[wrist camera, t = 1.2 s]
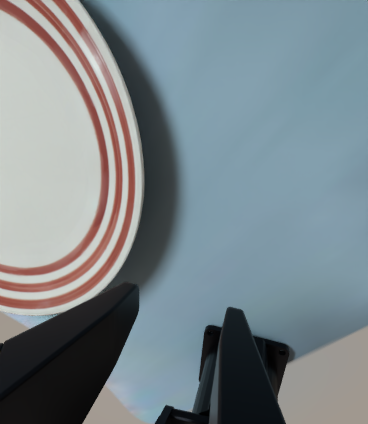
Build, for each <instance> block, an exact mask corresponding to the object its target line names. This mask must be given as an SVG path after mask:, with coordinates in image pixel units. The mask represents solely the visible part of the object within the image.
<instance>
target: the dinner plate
mask: <svg viewBox="0 0 368 424" xmlns="http://www.w3.org/2000/svg"><path fill="white" fill-rule="evenodd" d="M144 184H145V183H144V160H143V153H142V143H141V138H140V132H139V128H138V123H137V119H136V116H135V112H134V108H133V104H132V101H131V97H130V95H129V92H128V89H127V86H126V84H125V81H124V78H123V76H122V74H121V71H120V69H119V67H118V64H117V62H116V60H115V58H114V56H113V54H112V52H111V50H110V48H109V46H108V44H107V42H106V40H105V39H104V37H103V35H102V34H101V32H100V30H99V29H98V27H97V25H96V24H95V22H94V20H93V19H92V18H91V16H90V15H89V13H88V12H87V10H86V9H85V8H84V6H83V5H82V3H81V2H80V0H0V311H3V312H7V313H11V314H17V315H28V316H42V315H52V314H57V313H62V312H65V311H67V310H69V309H71V308H73V307H75V306H77V305H79V304H81V303H83V302H85V301H87V300H89V299H91V298H93V297H95V296H96V295H98V294H99V293H100V292H101V291H102V290H103V289H104V288H105V287H106V286H107V285H108V284H109V283H110V282H111V281H112V280H113V278H114V277H115V276H116V274H117V273H118V272H119V270H120V269H121V267H122V266H123V264H124V262H125V260H126V259H127V257H128V254H129V252H130V250H131V248H132V245H133V243H134V240H135V238H136V234H137V231H138V227H139V223H140V219H141V213H142V206H143V199H144Z"/></svg>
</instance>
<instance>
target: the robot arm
mask: <svg viewBox="0 0 368 424" xmlns="http://www.w3.org/2000/svg"><path fill="white" fill-rule="evenodd" d="M138 312H139V286H138V285H137V284H133V283H129V282H124V283H121V284H119V285H117V286H115V287H113V288H111V289H109V290H107V291H105V292H103V293H101V294H99V295H97V296H95V297H93V298H91V299H89V300H87V301H85V302H83V303H81V304H79V305H77V306H75V307H73V308H71V309H69V310H67V311H65V312H63V313H61V314H59V315H57V316H55V317H53V318H51V319H49V320H47V321H45V322H43V323H41V324H39V325H37V326H35V327H33V328H31V329H29V330H27V331H25V332H23V333H21V334H19V335H17V336H15V337H13V338H10V339H9V340H6V341H5V342H4V344H3V343H0V424H82V423H83V421H84V420H85V418H86V416H87V414H88V413H89V411H90V409H91V407H92V406H93V404H94V402H95V400H96V399H97V397H98V395H99V393H100V392H101V390H102V388H103V386H104V385H105V383H106V381H107V379H108V378H109V376H110V374H111V372H112V370H113V369H114V367H115V365H116V363H117V361H118V359H119V356H120V354H121V352H122V350H123V347H124V345H125V343H126V340H127V338H128V336H129V333H130V331H131V329H132V327H133V324H134V322H135V320H136V317H137V315H138ZM209 331H211V332H213V333H211V332H209ZM280 350H283V351H280ZM288 357H289V348H288V346H287V345H285V344H282V343H278V342H274V341H270V340H267V339H263V338H259V337H255V336H252V333H251V330H250V328H249V325H248V322H247V320H246V317H245V315H244V312H243V311H242V310H241V309H237V308H233V307H228V308H227V310H226V314H225V318H224V322H223V326H222V328H220V327H216V326H212V325H208V326H207V327H206V328H205V332H204V339H203V348H202V357H201V365H200V374H199V382H200V384H199V388H198V391H197V395H196V399H195V403H194V407H193V411H192V412H188V411H183V410H179V409H174V407H172V406H168V405H166V406H165V407H164V409H163V411H162V413H161V415H160V416H159V417H158V419H157V421H156V422H155V424H286V423H285V420H284V417H283V415H282V412H281V409H280V407H279V405H278V399H277V398H278V393H279V389H280V386H281V382H282V378H283V375H284V371H285V368H286V364H287V361H288Z"/></svg>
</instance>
